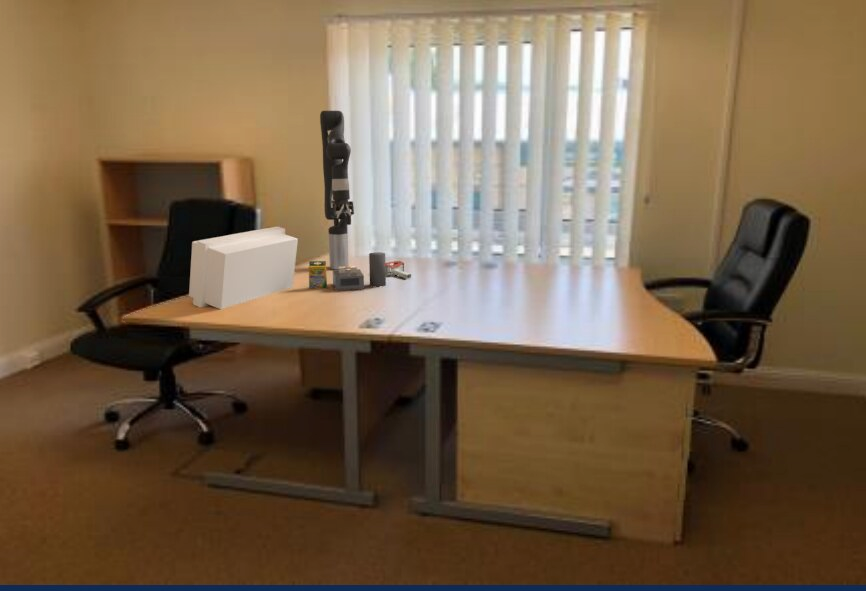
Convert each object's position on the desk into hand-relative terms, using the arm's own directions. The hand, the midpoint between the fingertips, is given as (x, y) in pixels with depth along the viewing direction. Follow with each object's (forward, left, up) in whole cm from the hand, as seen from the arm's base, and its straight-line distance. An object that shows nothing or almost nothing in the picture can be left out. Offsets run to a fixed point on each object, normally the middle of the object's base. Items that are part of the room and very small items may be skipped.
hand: (342, 225), depth 307 cm
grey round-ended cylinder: (+15, +13, -25) cm, 32 cm away
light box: (+23, -42, -25) cm, 54 cm away
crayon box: (+15, -13, -25) cm, 32 cm away
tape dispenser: (-5, +24, -25) cm, 35 cm away
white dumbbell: (+15, 0, -19) cm, 24 cm away
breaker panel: (+15, 0, -25) cm, 29 cm away
